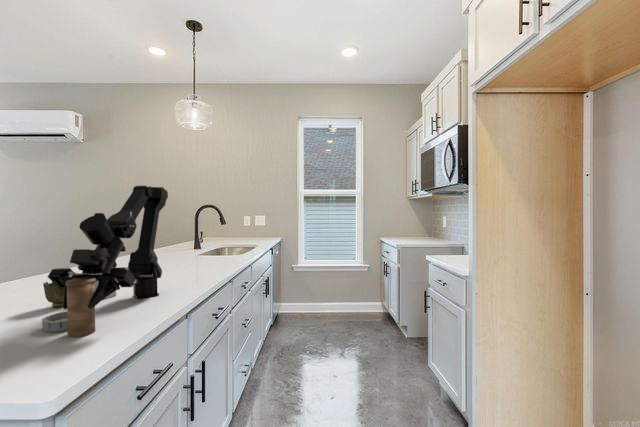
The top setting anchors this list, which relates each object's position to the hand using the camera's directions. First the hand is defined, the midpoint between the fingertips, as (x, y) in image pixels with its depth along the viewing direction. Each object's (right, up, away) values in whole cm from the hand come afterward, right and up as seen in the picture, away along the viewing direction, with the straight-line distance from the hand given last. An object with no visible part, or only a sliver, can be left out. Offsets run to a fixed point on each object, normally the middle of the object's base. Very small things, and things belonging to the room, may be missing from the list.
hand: (77, 308), depth 75 cm
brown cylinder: (0, -7, +1) cm, 7 cm away
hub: (-8, -6, +6) cm, 12 cm away
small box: (-17, -6, +32) cm, 37 cm away
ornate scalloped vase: (-22, -6, +22) cm, 32 cm away
